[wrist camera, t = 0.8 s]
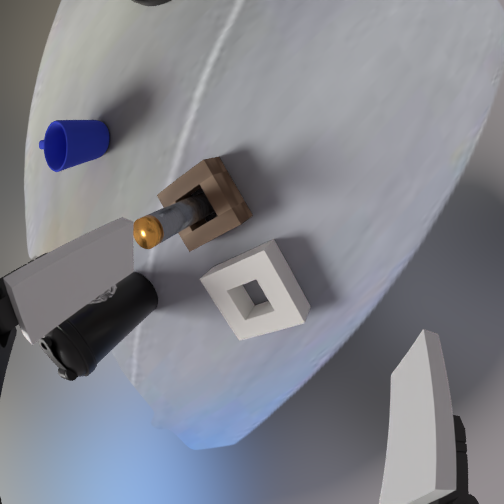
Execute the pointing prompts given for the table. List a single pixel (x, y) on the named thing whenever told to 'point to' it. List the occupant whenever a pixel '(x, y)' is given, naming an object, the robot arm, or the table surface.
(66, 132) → the mug
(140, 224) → the pin
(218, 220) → the mount block
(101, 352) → the water bottle
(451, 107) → the table surface
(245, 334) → the dock block
